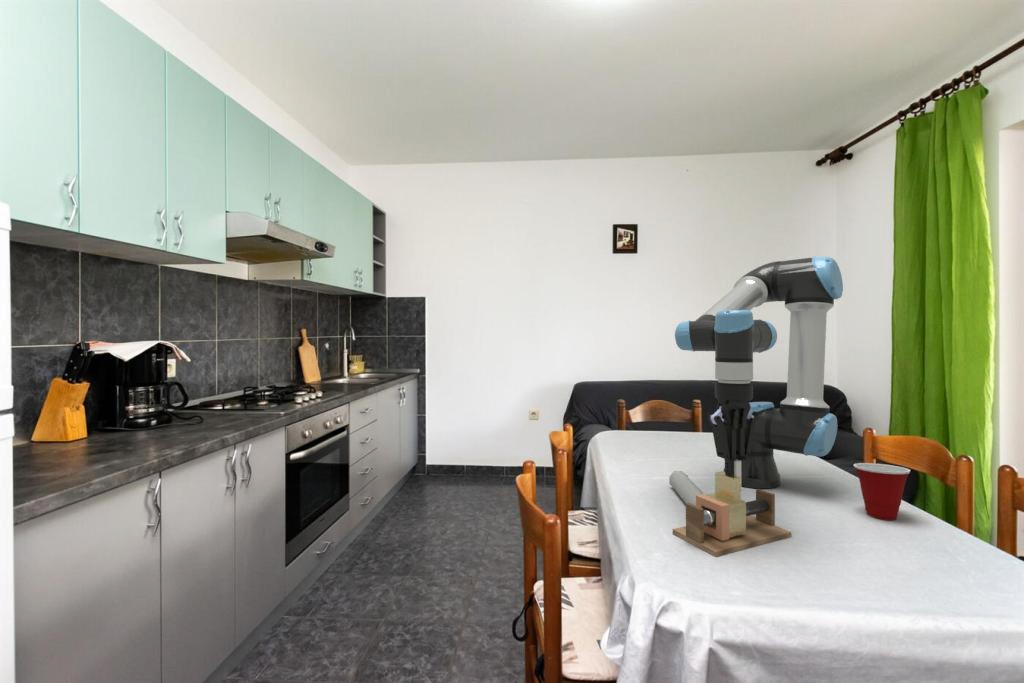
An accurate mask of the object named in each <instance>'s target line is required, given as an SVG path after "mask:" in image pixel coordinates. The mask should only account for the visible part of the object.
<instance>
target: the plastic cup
mask: <svg viewBox="0 0 1024 683" xmlns="http://www.w3.org/2000/svg"><path fill="white" fill-rule="evenodd" d="M853 468H854V469H855V471H856V473H857V477H858V479H859V484H860V490H861V495H862V499H863V503H864V504H863V505H864V508H865V512H866V514H867V515H868V516H869V517H871V518H875V519H877V520H882V521H896V520H897V518H898V515H899V511H900V506H901V504H902V499H903V495H904V494H903V493H904V489H905V484H906V482H907V478H908V476H909V475H910V473H911V469H909V468H906V467H903V466H897V465H893V464H892V465H891V464H885V463H871V462H858V463H854V464H853Z"/></svg>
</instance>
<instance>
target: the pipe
mask: <svg viewBox="0 0 1024 683" xmlns="http://www.w3.org/2000/svg"><path fill="white" fill-rule="evenodd" d="M745 502H746V516H750V515H751V516H753V515H756V514H758V513H763V512H767V511H768V510H769V504H768V502H767V501H766V500H765V499H759V500H756V499H755V500H750V501H745ZM715 523H716V511H714V510H704V526H706V525H707V526H708V525H712V524H715Z"/></svg>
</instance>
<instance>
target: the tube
mask: <svg viewBox="0 0 1024 683" xmlns="http://www.w3.org/2000/svg"><path fill="white" fill-rule="evenodd" d="M668 479H669V482H668V483H669V485H670V486H671V487H672V488H673V489H674V490H675V491H676V493H677V494H678V496H680V498H681V499H682V500H683V502H684V503H685V504H686V503H691V504H693V505H695V506H696V495H700V494H704V495H705V493H703V491H702V490H701V489H700V488H699V487H698V486H697V485H696V484H695V483H694V482H693V481H692V480H691V479H690V478H689V475H688V474H687V473H685V472H683V471H682V470H673V472H672V473H671V474H670V475H669V478H668Z"/></svg>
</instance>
